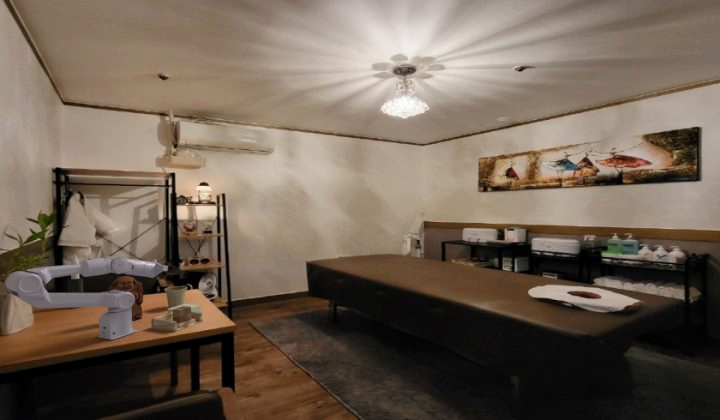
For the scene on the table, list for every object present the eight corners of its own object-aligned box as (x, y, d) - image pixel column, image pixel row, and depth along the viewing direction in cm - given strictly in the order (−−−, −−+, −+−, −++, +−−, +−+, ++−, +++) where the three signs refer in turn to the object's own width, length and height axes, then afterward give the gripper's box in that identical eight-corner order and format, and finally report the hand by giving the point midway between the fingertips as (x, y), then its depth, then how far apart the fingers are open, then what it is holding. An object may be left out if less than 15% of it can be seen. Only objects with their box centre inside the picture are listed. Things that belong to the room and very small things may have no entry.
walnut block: (180, 323, 139) (180, 310, 138) (172, 322, 140) (172, 309, 140) (191, 319, 143) (191, 306, 143) (183, 318, 145) (183, 305, 145)
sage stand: (183, 318, 151) (183, 310, 151) (167, 316, 155) (167, 309, 154) (200, 312, 159) (200, 305, 159) (185, 310, 163) (185, 303, 163)
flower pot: (191, 304, 173) (191, 286, 173) (180, 309, 164) (179, 290, 164) (172, 304, 174) (172, 285, 174) (160, 309, 165) (159, 290, 165)
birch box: (174, 331, 134) (174, 322, 134) (151, 328, 139) (151, 319, 139) (202, 321, 146) (202, 312, 146) (180, 318, 151) (180, 309, 151)
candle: (71, 306, 174) (69, 253, 173) (84, 305, 176) (82, 252, 176) (67, 309, 169) (66, 254, 169) (81, 307, 171) (80, 254, 171)
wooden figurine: (112, 325, 143) (111, 279, 143) (107, 322, 147) (106, 277, 147) (145, 318, 152) (144, 274, 152) (139, 315, 156) (138, 273, 156)
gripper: (153, 255, 137) (186, 261, 148) (131, 259, 144) (164, 264, 155) (150, 274, 135) (183, 278, 146) (128, 277, 142) (162, 281, 153)
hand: (173, 272), depth 150 cm, fingers open, 7 cm apart
